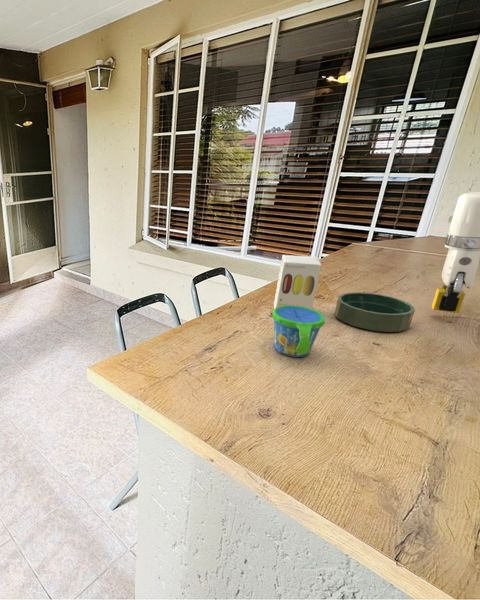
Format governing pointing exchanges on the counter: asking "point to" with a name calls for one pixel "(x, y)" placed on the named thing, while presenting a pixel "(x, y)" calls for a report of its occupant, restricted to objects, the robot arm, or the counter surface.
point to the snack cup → (296, 329)
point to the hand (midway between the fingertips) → (445, 307)
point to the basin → (374, 312)
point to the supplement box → (297, 281)
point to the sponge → (438, 297)
